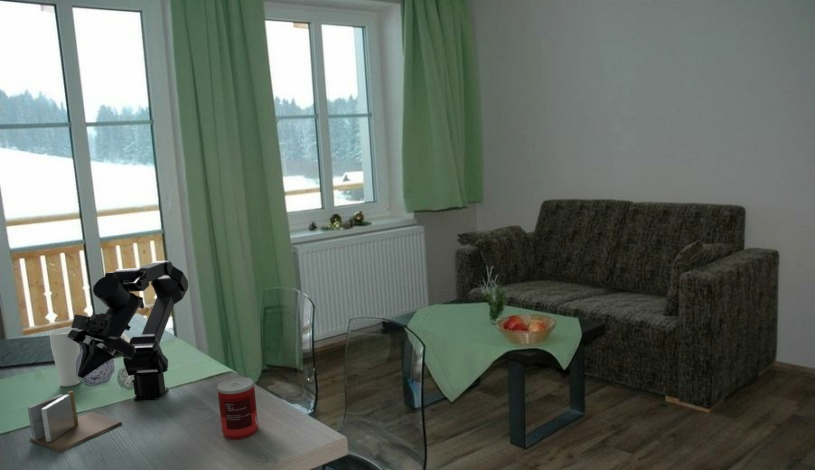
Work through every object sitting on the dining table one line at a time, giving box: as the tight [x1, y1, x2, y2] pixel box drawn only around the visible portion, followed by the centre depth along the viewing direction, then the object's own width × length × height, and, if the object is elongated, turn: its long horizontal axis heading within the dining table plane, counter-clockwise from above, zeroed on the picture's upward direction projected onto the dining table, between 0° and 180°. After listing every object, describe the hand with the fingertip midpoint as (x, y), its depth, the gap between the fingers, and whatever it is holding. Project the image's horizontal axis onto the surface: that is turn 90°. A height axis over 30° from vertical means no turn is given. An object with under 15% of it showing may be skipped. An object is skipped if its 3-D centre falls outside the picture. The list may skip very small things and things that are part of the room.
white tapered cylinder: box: [49, 326, 81, 388], centre depth 175 cm, size 7×7×15 cm
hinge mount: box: [27, 390, 122, 453], centre depth 145 cm, size 14×12×9 cm
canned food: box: [217, 376, 259, 440], centre depth 140 cm, size 8×8×11 cm
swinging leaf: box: [41, 394, 75, 442], centre depth 143 cm, size 8×1×8 cm, turn 170°
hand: (79, 377), depth 144 cm, fingers closed
